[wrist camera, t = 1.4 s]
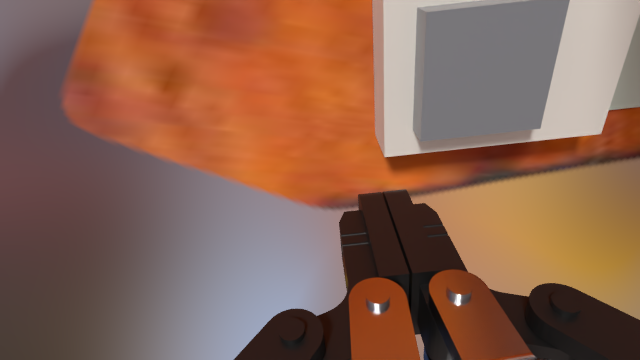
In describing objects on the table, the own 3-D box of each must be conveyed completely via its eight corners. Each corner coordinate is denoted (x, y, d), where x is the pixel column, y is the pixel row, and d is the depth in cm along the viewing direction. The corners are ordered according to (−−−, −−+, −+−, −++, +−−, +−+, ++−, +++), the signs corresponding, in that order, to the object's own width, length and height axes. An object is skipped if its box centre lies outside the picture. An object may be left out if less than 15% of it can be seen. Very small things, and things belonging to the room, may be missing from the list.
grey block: (550, -8, 22) (570, -4, 21) (524, 117, 27) (540, 128, 25) (416, 7, 23) (426, 12, 21) (412, 129, 27) (420, 141, 25)
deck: (613, -57, 25) (663, -59, 21) (567, 113, 31) (600, 133, 28) (371, -30, 25) (383, -27, 22) (375, 134, 31) (384, 157, 28)
